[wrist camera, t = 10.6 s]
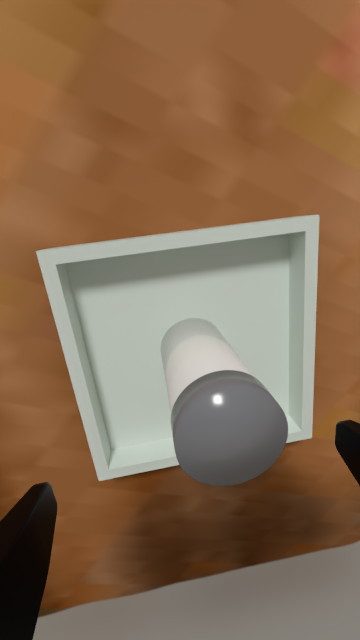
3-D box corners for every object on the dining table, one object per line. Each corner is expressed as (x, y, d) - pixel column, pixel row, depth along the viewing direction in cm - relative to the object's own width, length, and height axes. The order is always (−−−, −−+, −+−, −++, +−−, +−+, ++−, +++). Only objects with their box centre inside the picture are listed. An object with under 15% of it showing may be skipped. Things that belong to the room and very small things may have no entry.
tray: (103, 454, 22) (98, 481, 20) (50, 248, 17) (35, 251, 15) (294, 416, 23) (312, 437, 21) (296, 216, 19) (319, 214, 16)
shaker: (163, 382, 20) (181, 495, 12) (154, 322, 19) (167, 401, 10) (226, 371, 21) (287, 473, 12) (222, 311, 19) (288, 379, 11)
